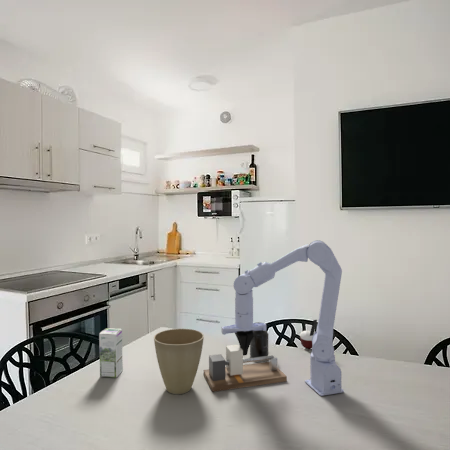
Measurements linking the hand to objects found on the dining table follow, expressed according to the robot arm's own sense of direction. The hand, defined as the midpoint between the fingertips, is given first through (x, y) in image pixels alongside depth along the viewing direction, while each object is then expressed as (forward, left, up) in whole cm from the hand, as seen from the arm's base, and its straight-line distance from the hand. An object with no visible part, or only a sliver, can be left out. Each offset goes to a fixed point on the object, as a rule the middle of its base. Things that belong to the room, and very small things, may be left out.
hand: (244, 354), depth 114 cm
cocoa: (+18, -33, -8) cm, 38 cm away
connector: (0, +9, -6) cm, 11 cm away
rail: (0, -1, -6) cm, 6 cm away
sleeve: (0, +3, -5) cm, 6 cm away
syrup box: (+15, +41, -8) cm, 44 cm away
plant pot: (-1, +21, -8) cm, 22 cm away
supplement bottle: (+15, -11, -8) cm, 20 cm away
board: (0, 0, -8) cm, 8 cm away
